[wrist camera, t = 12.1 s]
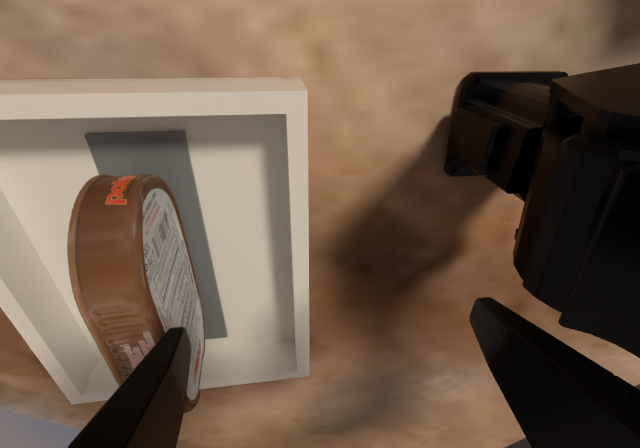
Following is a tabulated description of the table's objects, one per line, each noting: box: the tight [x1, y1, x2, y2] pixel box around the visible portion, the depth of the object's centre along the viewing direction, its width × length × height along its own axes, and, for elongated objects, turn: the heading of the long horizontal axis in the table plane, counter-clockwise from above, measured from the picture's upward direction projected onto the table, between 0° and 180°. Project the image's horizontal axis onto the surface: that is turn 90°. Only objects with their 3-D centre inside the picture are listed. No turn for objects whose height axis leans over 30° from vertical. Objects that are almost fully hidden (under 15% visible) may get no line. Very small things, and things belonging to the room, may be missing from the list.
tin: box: [67, 174, 205, 413], centre depth 18 cm, size 15×3×8 cm, turn 179°
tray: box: [0, 77, 310, 404], centre depth 21 cm, size 18×22×4 cm
